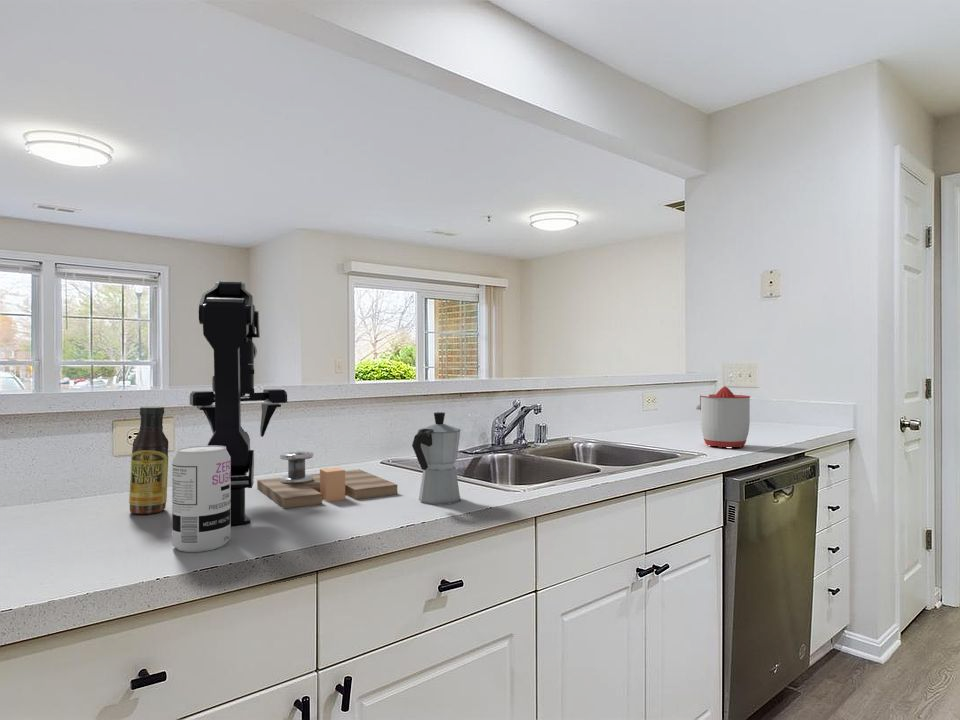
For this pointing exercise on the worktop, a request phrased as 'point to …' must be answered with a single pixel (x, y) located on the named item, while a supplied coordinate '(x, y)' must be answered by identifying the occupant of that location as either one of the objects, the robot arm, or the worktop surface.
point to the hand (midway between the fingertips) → (239, 437)
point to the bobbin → (296, 467)
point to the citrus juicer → (725, 418)
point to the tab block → (332, 484)
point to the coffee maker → (438, 461)
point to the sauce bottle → (149, 464)
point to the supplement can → (201, 498)
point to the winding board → (309, 493)
